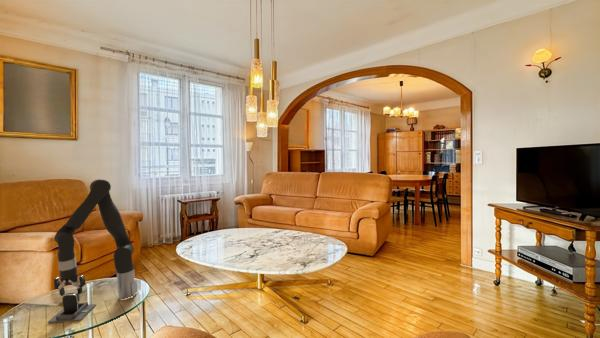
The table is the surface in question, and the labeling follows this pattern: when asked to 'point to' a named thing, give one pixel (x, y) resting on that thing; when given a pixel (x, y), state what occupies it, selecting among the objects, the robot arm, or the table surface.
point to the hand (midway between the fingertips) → (71, 294)
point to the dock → (77, 316)
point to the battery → (70, 303)
